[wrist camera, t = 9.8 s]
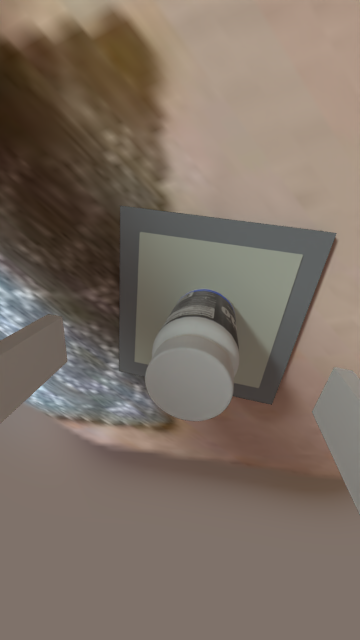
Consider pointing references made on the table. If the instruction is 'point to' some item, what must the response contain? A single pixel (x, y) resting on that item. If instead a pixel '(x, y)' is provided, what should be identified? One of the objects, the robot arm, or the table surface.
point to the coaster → (218, 286)
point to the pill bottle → (195, 357)
